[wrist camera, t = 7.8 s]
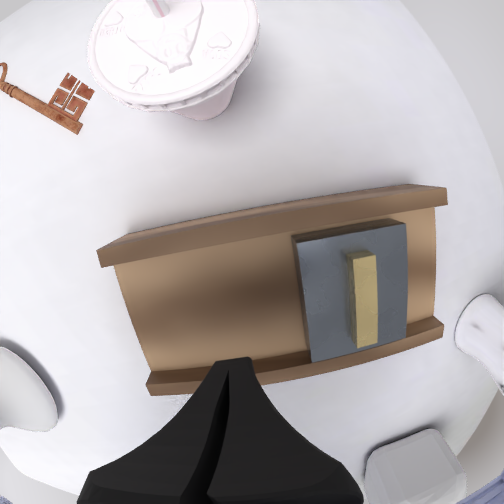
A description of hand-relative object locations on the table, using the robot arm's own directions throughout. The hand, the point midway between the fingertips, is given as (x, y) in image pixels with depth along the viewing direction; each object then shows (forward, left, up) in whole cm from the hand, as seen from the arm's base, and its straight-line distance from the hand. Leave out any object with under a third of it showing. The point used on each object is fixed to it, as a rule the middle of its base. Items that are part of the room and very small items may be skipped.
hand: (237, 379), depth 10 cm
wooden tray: (0, -3, -10) cm, 10 cm away
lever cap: (0, -6, -7) cm, 9 cm away
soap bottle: (-26, -14, -10) cm, 31 cm away
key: (+19, +14, -10) cm, 26 cm away
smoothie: (+13, 0, -10) cm, 16 cm away
